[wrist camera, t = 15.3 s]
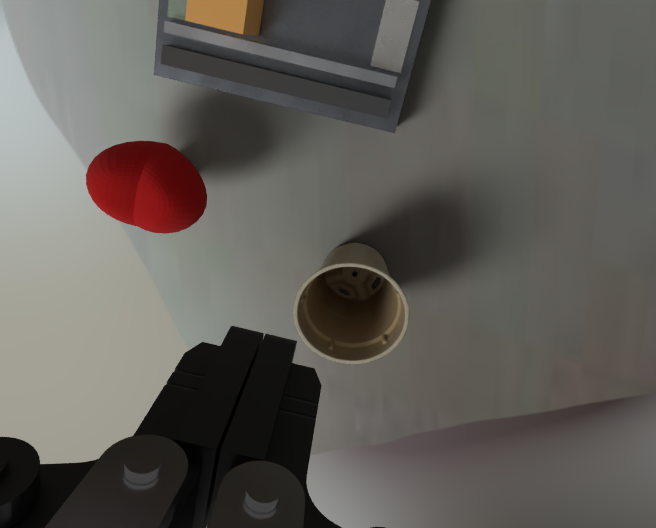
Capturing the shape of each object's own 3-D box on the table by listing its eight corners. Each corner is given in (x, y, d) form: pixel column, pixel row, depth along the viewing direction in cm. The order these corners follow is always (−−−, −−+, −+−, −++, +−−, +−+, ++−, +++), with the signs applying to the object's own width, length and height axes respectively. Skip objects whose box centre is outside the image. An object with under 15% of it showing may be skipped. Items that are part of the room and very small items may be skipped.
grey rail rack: (430, -52, 35) (432, -56, 34) (386, 116, 40) (386, 118, 39) (181, -114, 35) (174, -119, 34) (167, 63, 40) (160, 64, 39)
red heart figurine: (125, 187, 47) (64, 221, 38) (137, 114, 44) (75, 132, 35) (219, 220, 48) (182, 261, 39) (237, 150, 45) (201, 177, 36)
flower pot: (398, 318, 50) (402, 369, 42) (305, 311, 51) (292, 359, 43) (409, 230, 47) (415, 268, 39) (308, 223, 47) (294, 258, 39)
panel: (444, -60, 37) (451, -71, 34) (393, 128, 43) (395, 135, 40) (181, -125, 37) (162, -142, 34) (165, 73, 43) (147, 75, 39)
